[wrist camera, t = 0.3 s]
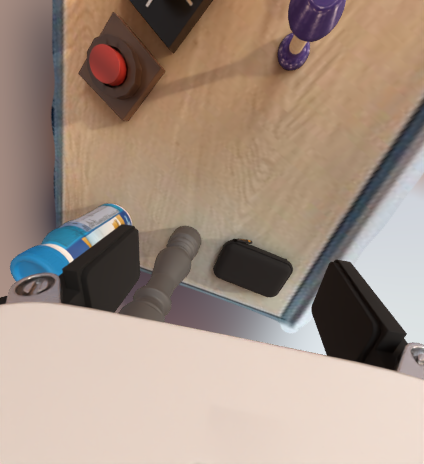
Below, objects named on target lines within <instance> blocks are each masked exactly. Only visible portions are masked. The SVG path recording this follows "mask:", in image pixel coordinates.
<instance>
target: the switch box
mask: <svg viewBox="0 0 424 464" xmlns="http://www.w3.org/2000/svg"><path fill="white" fill-rule="evenodd" d="M99 44H105V45H108V46H110V47H111V48H113V49H114V50H116V51H118V52H119V53H120V54H121V55H122V57H123V58H124V60H125V63H126V67H127V75H126V78H125V80H124V82H123V83H122V84H120V85H118V86H111V85H108V84H105V83H102V82H100V81H99V80H98V79H97V78H96V77H95V76H94V74H93V73H92V70H91V68H90V63H89V58H90V53H91V51H92V49H93V48H94V47H95V46H96V45H99ZM164 72H165V70H164V69H163V68H162V66H161V65H160V64H159V63H158V62H157V60H156V59H155V58H154V57H153V56H152V54H151V53H150V52H149V51H148V50H147V49H146V47H145V46H144V45H143V44H142V43H141V41H140V40H139V39H138V38H137V37H136V35H135V34H134V33H133V32H132V31H131V29H130V28H129V27H128V26H127V25H126V24H125V22H124V21H123V20H122V19H121V18H120V17H119V16H118V15H117V14H116V13H115V12H113V13H112V15H111V17H110V19H109V20H108V22H107V24H106V26H105V27H104V29H103V31H102V33H101V35H100V36H99V37H96V38H95V39H94V40H93V42H92V44H91V46H90V47H89V49H88V51H87V59H86V61H85V63H84V64H83V66H82V68H81V70H80V71H79V73H78V74H79V75H80V76H81V77H82V78H83V79H84V80H85V81H86V82H87V83H88V84H89V85H90V86H91V87H92V88H93V90H94V91H95V92H96V93H97V94H98V95H99V96H100V97H101V98H102V99H103V100H104V101H105V102H106V103H107V104H108V105H109V106H110V108H111V109H112V110H113V111H114V112H115V113H116V114H117V115H118V116H119V117H120V118H121V119H122V120H124V121H129V119H130V118H131V117H132V115H133V114H134V113H135V111H136V110H137V109H138V107H139V106H140V105H141V103H142V102H143V101H144V99H145V98H146V97H147V95H148V94H149V93H150V91H151V90H152V89H153V87H154V86H155V84H156V83H157V82H158V80H159V79H160V78H161V76H162V75H163V74H164Z"/></svg>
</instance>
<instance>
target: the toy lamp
mask: <svg viewBox="0 0 424 464" xmlns="http://www.w3.org/2000/svg"><path fill="white" fill-rule="evenodd" d="M345 2H346V0H291V1H290V4H289V10H288V20H289V25H290V28H291V30H292V32H293V33H290V34H289V35H287V36H286V37H285V38H284V39H283V41H282V42H281V44H280V46H279V49H278V61H279V63H280V65H281V66H282V67H283V68H284V69H286V70H296V69H298V68H299V67H301V66H302V65H303V64H304V63H305V61H306V59H307V58H308V55H309V51H310V43H309V42H313V41H317V40H319V39H321V38H323V37H324V36H326V35H327V34H328V33H330V31H331V30H332V29H333V28H334V27H335V26H336V24H337V23H338V21H339V19H340V17H341V15H342V13H343V10H344V7H345Z"/></svg>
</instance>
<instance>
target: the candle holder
mask: <svg viewBox="0 0 424 464" xmlns="http://www.w3.org/2000/svg"><path fill="white" fill-rule="evenodd" d="M200 245H201V237H200V234H199V233H198V232H197V230H195V229H194V228H192V227H189V226H182V227H179V228H178V229H176V230H175V231H174V233H173V234H172V235H171V237H170V239H169V241H168V244H167V248H165V249H163V250H162V251H161V252H160V253H159V254H158V256H157V258H156V260H155V264H154V268H153V272H152V276H151V279H150V280H149V282H148V283H147V285H146V286H143V287H141V288H140V289H138V290H137V291H136V292H135V294H134V296H133V301H132V302H130V303H128V304H127V305H126V306H124V307H123V308H122V309H121V310H120V312H119V313H118V314H124V315H129V316H134V317H139V318H144V319H149V320H154V321H159V322H164V320H165V319H164V318H165V317H164V316H165V315H167V314H168V313H169V311H170V309H171V299H170V297H171V295H172V293H173V291H174V289H175V288H176V287H177V286H178V285H179V284H180V282H181V281H182V280H183V279H184V278H185V277H186V276H187V275H188V273H189V272H190V269H191V260H192V259H193V258H194V257H195V256H196V254H197V253H198V250H199V248H200ZM164 323H165V322H164Z"/></svg>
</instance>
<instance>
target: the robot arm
mask: <svg viewBox="0 0 424 464" xmlns="http://www.w3.org/2000/svg"><path fill="white" fill-rule="evenodd" d="M62 271H63V273H62V274H60V275H59V276H58V275H56V274H53V273H37V274H33V275H29V276H27V277H24V278H22V279H20V280H19V281H17V282H16V283H14V285H12V286H11V288H10V290H9V293H8V296H5V297H1V298H0V464H424V345H423V344H420V343H407V342H406V341H405V339H404V337H405V336H406V334H407V333H406V332H405V331H404V330H403V329H402V327H401V326H400V325H399V323H398V322H397V321H396V320H395V318H394V317H393V316H392V314H391V313H390V312H389V311H388V309H387V308H386V307H385V306H384V304H383V303H382V302H381V301H380V299H379V298H378V297H377V295H376V294H375V293H374V292H373V290H372V289H371V288H370V286H369V285H368V284H367V283H366V281H365V280H364V279H363V278H362V276H361V275H360V274H359V272H358V271H357V270H356V269H355V267H354V266H353V265H352V264H351V263H350V262H347V261H341V260H335V261H334V262H330V263H329V265H328V268H327V270H326V273H325V275H324V278H323V280H322V282H321V285H320V287H319V290H318V292H317V295H316V297H315V299H314V302H313V304H312V315H313V317H314V320H315V323H316V325H317V329H318V331H319V334H320V337H321V340H322V343H323V345H324V348H325V351H326V354H327V356H326V355H321V354H316V353H312V352H307V351H302V350H297V349H292V348H287V347H283V346H278V345H273V344H268V343H263V342H258V341H253V340H248V339H243V338H238V337H234V336H229V335H224V334H218V333H214V332H209V331H203V330H199V329H194V328H189V327H184V326H179V325H174V324H169V323H164V322H159V321H154V320H149V319H144V318H139V317H134V316H129V315H124V314H118V313H114V312H115V311H116V310H117V308H118V307H119V305H120V304H121V303H122V301H123V300H124V299H125V297H126V296H127V295H128V293H129V292H130V290H131V289H132V288H133V286H134V285H135V283H136V282H137V281H138V279H139V276H140V261H139V236H138V230H137V229H135V227H134V226H131V225H125V224H121V225H120V226H119V227H117V228H116V229H114V230H113V231H112V232H110V233H109V234H108V235H106V236H105V237H104V238H102V239H101V240H100V241H98V242H97V243H96V244H94V245H93V246H92V247H90V248H89V249H88V250H86V251H85V252H84V253H82V254H81V255H80V256H78V257H77V258H76V259H74V260H73V261H72V262H70V263H69V264H68V265H66V266H65V267H64V268H62Z"/></svg>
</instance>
